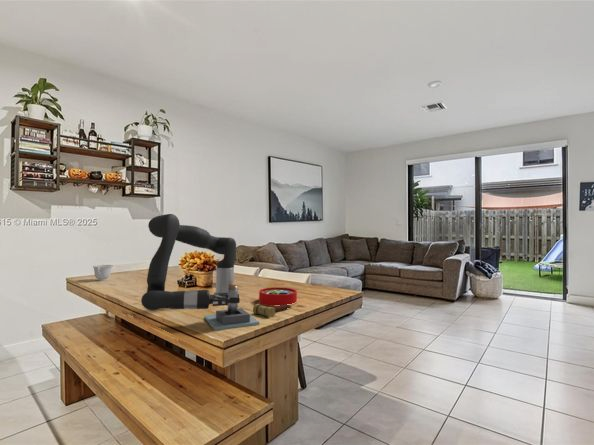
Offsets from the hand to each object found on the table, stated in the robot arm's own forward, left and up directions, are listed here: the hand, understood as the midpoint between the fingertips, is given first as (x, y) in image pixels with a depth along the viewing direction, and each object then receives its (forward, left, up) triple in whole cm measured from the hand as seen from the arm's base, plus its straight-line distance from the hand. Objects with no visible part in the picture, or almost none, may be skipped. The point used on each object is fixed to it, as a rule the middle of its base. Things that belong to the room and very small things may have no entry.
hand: (239, 298), depth 133 cm
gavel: (-9, +21, -11) cm, 25 cm away
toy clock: (-27, +30, -10) cm, 42 cm away
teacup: (-132, -56, -10) cm, 144 cm away
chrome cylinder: (-1, -2, -9) cm, 9 cm away
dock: (-3, -2, -10) cm, 10 cm away
